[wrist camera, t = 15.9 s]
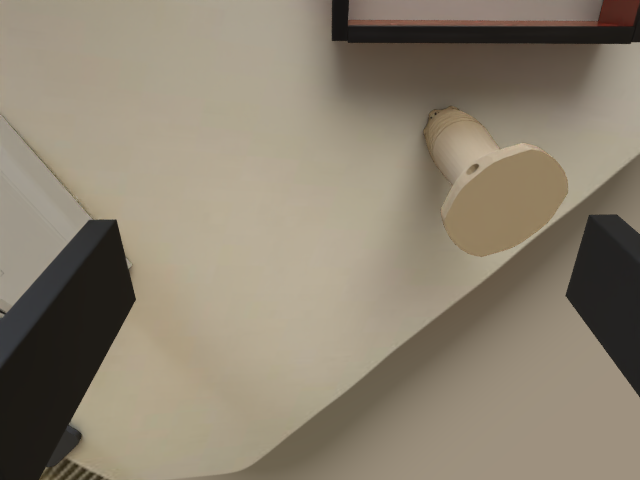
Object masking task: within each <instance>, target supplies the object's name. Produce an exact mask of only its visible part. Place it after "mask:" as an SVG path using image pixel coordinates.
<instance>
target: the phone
mask: <svg viewBox="0 0 640 480" xmlns="http://www.w3.org/2000/svg"><path fill="white" fill-rule="evenodd" d="M80 439H81V434H80V433H79V432H78V431H77V430H75V429H74V428H72V427H70V426H67V428H66V430H65V432H64V434H63V436H62V437H61V439H60V441H59V443H58V445H57V447H56V449H55V450H54V452H53V454H52V456H51V458H50V460H49V462H48V463H47V465H46V467H52V466H55V465H56V464H57V463H58V462H59V461H61V460H62V459H63V458H64V457H65V456H66V455H67V454H68V453H69V452H70V451H71V450H72V449H73V448H75V447H76V446H77V445H78V443H79V441H80Z"/></svg>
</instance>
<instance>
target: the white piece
mask: <svg viewBox="0 0 640 480" xmlns="http://www.w3.org/2000/svg"><path fill="white" fill-rule="evenodd" d="M88 220H93V219H92V218H91V217H90V216H89V215H88V214H87V212H86V211H85V210H84V209H83V208H82V207H81V206H80V204H79V203H78V202H77V201H76V200H75V199H74V198H73V197H72V195H71V194H70V193H69V192H68V191H67V190H66V189H65V187H64V186H63V185H62V184H61V183H60V182H59V181H58V179H57V178H56V177H55V176H54V175H53V174H52V173H51V171H50V170H49V169H48V168H47V167H46V166H45V165H44V163H43V162H42V161H41V160H40V159H39V158H38V157H37V155H36V154H35V153H34V152H33V151H32V150H31V149H30V147H29V146H28V145H27V144H26V143H25V142H24V141H23V139H22V138H21V137H20V136H19V135H18V134H17V133H16V131H15V130H14V129H13V128H12V127H11V126H10V125H9V123H8V122H7V121H6V120H5V119H4V118H3V117H2V115H1V114H0V318H3V316H4V315H5V314H6V313H7V312H8V311H9V310H10V309H11V307H12V306H13V305H14V304H15V303H16V302H17V301H18V300H19V298H20V297H21V296H22V295H23V294H24V293H25V292H26V290H27V289H28V288H29V287H30V286H31V285H32V284H33V283H34V281H35V280H36V279H37V278H38V277H39V276H40V275H41V274H42V272H43V271H44V270H45V269H46V268H47V267H48V266H49V264H50V263H51V262H52V261H53V260H54V259H55V258H56V257H57V255H58V254H59V253H60V252H61V251H62V250H63V249H64V248H65V246H66V245H67V244H68V243H69V242H70V241H71V240H72V238H73V237H74V236H75V235H76V234H77V233H78V232H79V231H80V229H81V228H82V227H83V226H84V225H85V224H86V223H87V222H88ZM126 261H127V265H128V269H129V268H130V267H131V266H132V264H131V263H130V262H129V260H128V259H127V258H126Z"/></svg>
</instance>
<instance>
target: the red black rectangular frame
mask: <svg viewBox="0 0 640 480" xmlns="http://www.w3.org/2000/svg"><path fill="white" fill-rule="evenodd" d="M348 11H349V0H332V41H348V43H545V44H631V42H640V0H604V1H603V5H602V9H601V13H600V17H599V21H465V20H348Z"/></svg>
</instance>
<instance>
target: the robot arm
mask: <svg viewBox="0 0 640 480" xmlns="http://www.w3.org/2000/svg"><path fill="white" fill-rule="evenodd" d="M566 297H567V298H568V300H569V301H570V302H571V304H572V305H573V307H574V308H575V309H576V311H577V312H578V313H579V315H580V316H581V317H582V319H583V320H584V322H585V323H586V324H587V326H588V327H589V328H590V330H591V331H592V332H593V334H594V335H595V337H596V338H597V339H598V341H599V342H600V343H601V345H602V346H603V347H604V349H605V350H606V352H607V353H608V354H609V356H610V357H611V358H612V360H613V361H614V362H615V364H616V365H617V367H618V368H619V369H620V371H621V372H622V374H623V375H624V376H625V377H626V379H627V380H628V382H629V383H630V384H631V386H632V387H633V389H634V390H635V391H636V393H637V394H638V395H639V397H640V234H639V233H638V232H636V231H635V230H634V229H633V228H632V227H631V226H629V225H628V224H627V223H626V222H625V221H624V220H623V219H621V218H620V217H619V216H618V215H589V217H588V220H587V224H586V227H585V231H584V234H583V237H582V241H581V244H580V248H579V251H578V255H577V258H576V261H575V265H574V269H573V272H572V275H571V279H570V282H569V285H568V289H567V292H566ZM135 300H136V298H135V294H134V290H133V286H132V282H131V278H130V273H129V269H128V265H127V261H126V257H125V253H124V249H123V245H122V241H121V236H120V232H119V228H118V224H117V220H88V222H87V223H86V224H85V225H84V226H83V227H82V228H81V229H80V231H79V232H78V233H77V234H76V235H75V236H74V237H73V238H72V240H71V241H70V242H69V243H68V244H67V245H66V246H65V248H64V249H63V250H62V251H61V252H60V253H59V254H58V255H57V257H56V258H55V259H54V260H53V261H52V262H51V263H50V264H49V266H48V267H47V268H46V269H45V270H44V271H43V272H42V274H41V275H40V276H39V277H38V278H37V279H36V280H35V281H34V283H33V284H32V285H31V286H30V287H29V288H28V289H27V290H26V292H25V293H24V294H23V295H22V296H21V297H20V298H19V300H18V301H17V302H16V303H15V304H14V305H13V306H12V307H11V309H10V310H9V311H8V312H7V313H6V314H5V315H4V316H3V318H0V480H39V478H40V476H41V475H42V473H43V471H44V469H45V467H46V465H47V463H48V462H49V460H50V458H51V456H52V454H53V452H54V450H55V449H56V447H57V445H58V443H59V441H60V439H61V437H62V436H63V434H64V432H65V430H66V428H67V426H68V425H69V423H70V421H71V419H72V417H73V415H74V413H75V412H76V410H77V408H78V406H79V404H80V402H81V400H82V399H83V397H84V395H85V393H86V391H87V389H88V387H89V386H90V384H91V382H92V380H93V378H94V376H95V374H96V373H97V371H98V369H99V367H100V365H101V363H102V362H103V360H104V358H105V356H106V354H107V352H108V350H109V349H110V347H111V345H112V343H113V341H114V339H115V337H116V336H117V334H118V332H119V330H120V328H121V326H122V324H123V323H124V321H125V319H126V317H127V315H128V313H129V311H130V310H131V308H132V306H133V304H134V302H135Z"/></svg>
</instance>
